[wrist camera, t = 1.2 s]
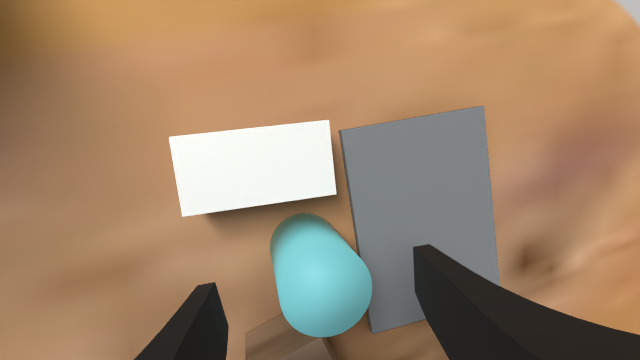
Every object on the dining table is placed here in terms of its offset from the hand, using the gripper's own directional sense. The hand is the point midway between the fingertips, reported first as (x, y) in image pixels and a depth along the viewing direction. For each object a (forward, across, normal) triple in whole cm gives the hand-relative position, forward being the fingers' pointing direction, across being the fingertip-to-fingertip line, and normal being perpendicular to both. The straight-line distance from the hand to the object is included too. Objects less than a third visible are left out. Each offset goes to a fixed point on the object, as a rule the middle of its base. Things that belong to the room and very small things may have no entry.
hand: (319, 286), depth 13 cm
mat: (+11, -8, +4) cm, 14 cm away
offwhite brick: (+11, +3, -2) cm, 11 cm away
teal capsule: (+10, +1, +4) cm, 10 cm away
